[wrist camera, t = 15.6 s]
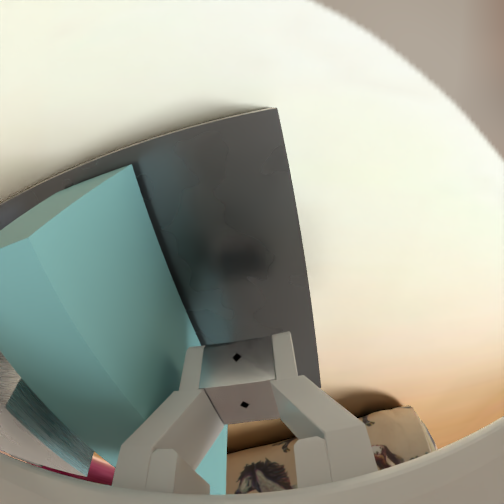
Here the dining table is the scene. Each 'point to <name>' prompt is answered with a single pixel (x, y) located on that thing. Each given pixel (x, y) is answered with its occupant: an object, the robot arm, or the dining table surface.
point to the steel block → (36, 428)
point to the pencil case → (282, 453)
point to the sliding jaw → (96, 314)
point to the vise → (217, 226)
